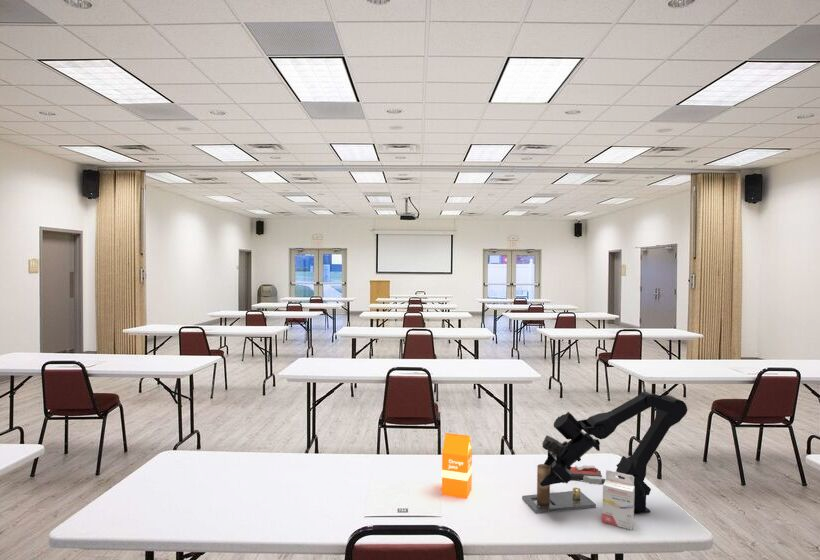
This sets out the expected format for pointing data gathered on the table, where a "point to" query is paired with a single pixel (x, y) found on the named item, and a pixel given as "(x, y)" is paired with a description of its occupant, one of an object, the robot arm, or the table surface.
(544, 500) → the peg
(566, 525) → the table surface
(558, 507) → the plate
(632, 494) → the ink cartridge box
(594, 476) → the red gray flat block
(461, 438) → the orange juice
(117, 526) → the table surface
